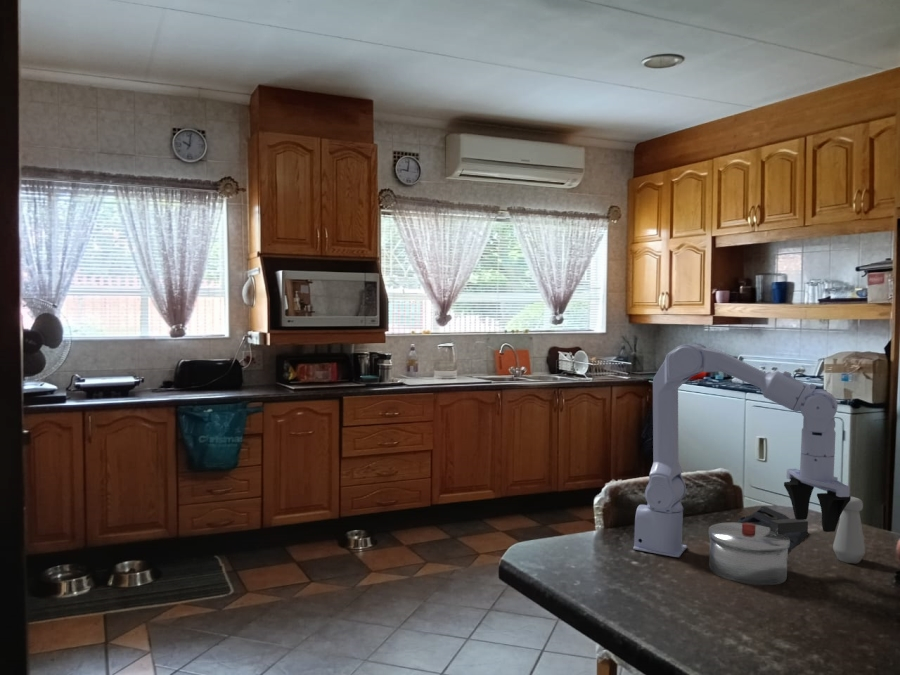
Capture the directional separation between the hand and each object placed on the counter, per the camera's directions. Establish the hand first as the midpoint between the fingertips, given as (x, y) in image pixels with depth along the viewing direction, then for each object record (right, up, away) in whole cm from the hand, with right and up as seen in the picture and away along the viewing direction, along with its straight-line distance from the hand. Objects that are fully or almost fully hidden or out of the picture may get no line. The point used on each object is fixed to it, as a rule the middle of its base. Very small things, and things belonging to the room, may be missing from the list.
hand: (814, 525), depth 136 cm
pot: (-10, -10, +6) cm, 15 cm away
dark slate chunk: (+2, -10, +27) cm, 29 cm away
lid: (-9, -4, +4) cm, 10 cm away
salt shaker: (+13, -10, +11) cm, 20 cm away
